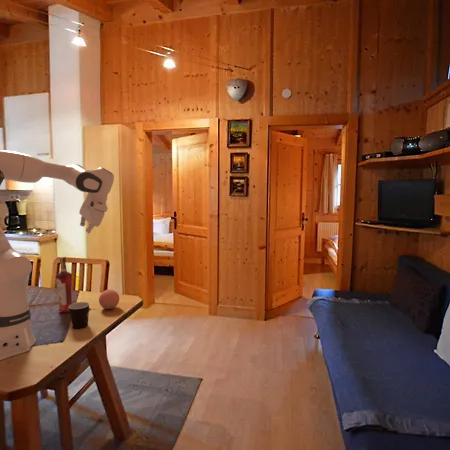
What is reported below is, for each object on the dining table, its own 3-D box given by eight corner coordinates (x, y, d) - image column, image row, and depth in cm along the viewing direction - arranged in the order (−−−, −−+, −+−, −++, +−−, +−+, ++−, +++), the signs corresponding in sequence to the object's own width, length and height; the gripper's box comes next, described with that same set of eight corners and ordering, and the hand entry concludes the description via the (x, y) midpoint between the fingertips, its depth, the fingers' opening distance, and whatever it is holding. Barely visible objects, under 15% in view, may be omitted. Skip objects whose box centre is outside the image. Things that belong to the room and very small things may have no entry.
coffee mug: (82, 331, 145) (81, 309, 144) (65, 329, 147) (64, 308, 146) (98, 320, 156) (97, 300, 155) (81, 319, 158) (80, 299, 157)
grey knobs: (82, 313, 165) (81, 311, 165) (77, 312, 167) (77, 309, 167) (119, 299, 185) (119, 297, 185) (115, 298, 187) (115, 296, 187)
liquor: (55, 312, 167) (51, 258, 163) (67, 307, 173) (64, 255, 170) (64, 314, 163) (60, 259, 160) (77, 309, 170) (74, 256, 166)
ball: (108, 313, 165) (107, 294, 164) (95, 309, 170) (94, 290, 169) (123, 307, 173) (123, 288, 172) (111, 303, 178) (110, 285, 177)
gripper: (82, 194, 161) (72, 220, 162) (95, 205, 146) (84, 234, 147) (94, 198, 165) (84, 223, 166) (109, 209, 150) (98, 237, 151)
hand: (84, 229), depth 156 cm, fingers open, 8 cm apart
